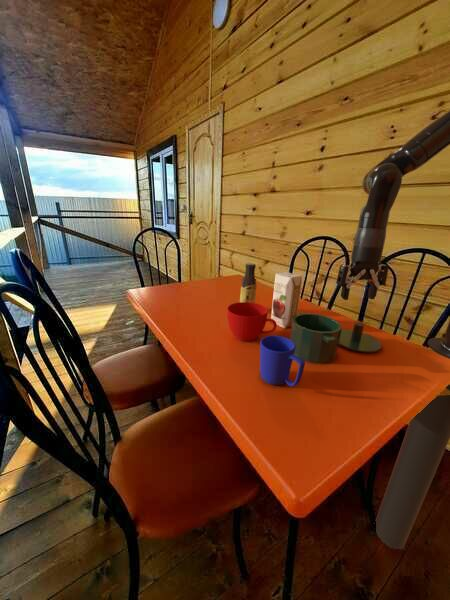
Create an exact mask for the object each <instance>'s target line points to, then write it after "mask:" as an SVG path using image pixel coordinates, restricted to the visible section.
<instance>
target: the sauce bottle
mask: <svg viewBox="0 0 450 600" xmlns="http://www.w3.org/2000/svg"><path fill="white" fill-rule="evenodd" d="M256 267H257V266H256V263H252V262H246V263H245V272H244V276H243V277H242V279H241V285H240V295H239V302H250V303H256V293H257V280H256V275H255V271H256Z"/></svg>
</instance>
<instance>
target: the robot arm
mask: <svg viewBox="0 0 450 600" xmlns="http://www.w3.org/2000/svg"><path fill="white" fill-rule="evenodd" d="M449 146H450V110H448V111H447V112H445V113H444V114H443V115H441V116H440V117H438V118H437V119H435V120H434V121H432V122H430V123H429V124H428V125H427V126H425V127H423V129H421V130H420V131H418V133H416V134H415V135H414V136H413V137H411V138H410V139H409V140H408V141H406V142H405V143H404V144H403V145H402V146H401V147H399V148H398V149H397V150H396V151H395V152H394V153H392V154H390V155H389V156H387V157H386V158H384V159H382V160H381V161H380V162H378V163H377V164H376V165H374V166H373V167H371V168H370V169H369V170H368V171H367V173H365V175H364V177H363V179H362V181H361V187H362V190H363V191H364V193H365V194H367V195H368V197H367V201H366V203H365V205H364V206H363V207H362V208H361V209H360V213H359V217H358V223H357V228H356V232H355V235H354V240H353V245H352V251H351V256H350V259H351V263H350V264H349V265H345V264H343V263H342V264H340V265H339V269H338V273H337V277H336V285H339V286H340V287H341V292H340V297H341V299H342V300H343V301H348V300H349V297H350V291H351V287H352V286H353V284H356V283H357V281H363V280H364V281H368V283H369V284H370V285H369V287H368V291H367V295H366V296H367V299H369V300H375V298H376V297H377V294H378V289H379V288H380V287H381V286H385V285H386V284H387V278H388V272H389V265H387V264H383V263H380V262H381V261H382V256H383V251H384V247H385V243H386V238H387V228H388V223H389V219H390V213H391V210H392V208H393V206H394V204H395V202H396V199H397V197H398V194H399V192H400V189H401V186H402V182H403V178H404V176H406V175H408V174H409V173H412V172H414V171H416V170H419V169H420V168H422V167H423V166H424V165H425V164H427V163H428V162H429V161H431V160H432V159H434V157H436V156H437V155H439V154H440V153H441V152H442V151H444V150H445V149H446V148H448V147H449ZM376 273H377V274H376ZM441 338H443V340H442V341H441V346H442V347H443V348H444V349H446V350H447V351H450V319H448V323H447V326H446V329H445V332H444V333H442V335H441Z"/></svg>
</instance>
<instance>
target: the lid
mask: <svg viewBox="0 0 450 600" xmlns="http://www.w3.org/2000/svg"><path fill="white" fill-rule="evenodd" d="M364 328H365V324H364V323H362V322H359V321H358V322H357V321H356V322H354V324H353V329H342V330H341V335H340V340H339V345H338V346H341V347H343V348H345V349H348V350H350V351H354V352H360V353H376V352H379V351H380V350H381V349H382V343H381V341H380V340H379V339H377V338H376V337H374V336H372V335H370V334H368V333H365V332H364Z"/></svg>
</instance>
